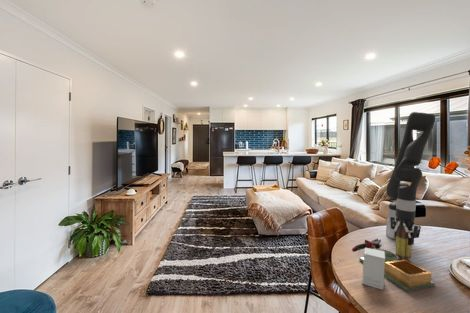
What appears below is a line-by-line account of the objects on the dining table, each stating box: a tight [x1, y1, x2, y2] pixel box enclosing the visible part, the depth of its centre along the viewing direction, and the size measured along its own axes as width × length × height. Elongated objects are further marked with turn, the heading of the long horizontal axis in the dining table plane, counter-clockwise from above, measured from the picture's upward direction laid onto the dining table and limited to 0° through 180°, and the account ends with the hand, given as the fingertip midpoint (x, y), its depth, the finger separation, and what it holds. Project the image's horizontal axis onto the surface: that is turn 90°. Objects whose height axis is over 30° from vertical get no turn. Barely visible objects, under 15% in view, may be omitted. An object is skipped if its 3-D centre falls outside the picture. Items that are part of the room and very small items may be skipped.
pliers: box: [351, 238, 382, 252], centre depth 127 cm, size 3×9×22 cm
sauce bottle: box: [395, 218, 412, 261], centre depth 114 cm, size 7×6×20 cm
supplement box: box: [361, 247, 385, 291], centre depth 95 cm, size 7×7×13 cm
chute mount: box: [359, 248, 436, 293], centre depth 103 cm, size 24×14×6 cm, turn 14°
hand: (403, 241), depth 114 cm, fingers closed on sauce bottle, 6 cm apart
